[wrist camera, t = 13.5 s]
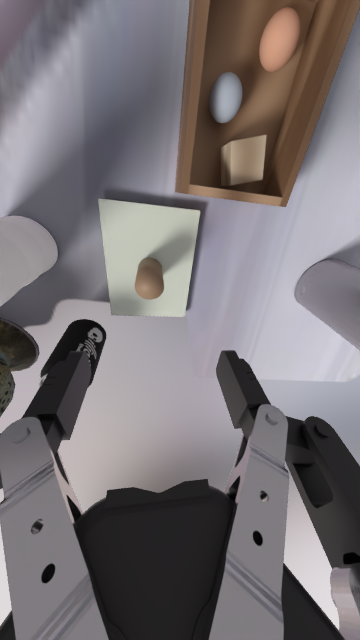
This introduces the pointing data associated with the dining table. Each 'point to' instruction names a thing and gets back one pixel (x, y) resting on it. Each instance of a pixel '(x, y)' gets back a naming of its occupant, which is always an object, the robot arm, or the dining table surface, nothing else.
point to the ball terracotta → (279, 39)
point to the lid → (148, 256)
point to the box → (256, 91)
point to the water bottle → (23, 254)
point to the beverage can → (78, 345)
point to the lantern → (14, 357)
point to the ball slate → (225, 97)
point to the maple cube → (243, 160)
